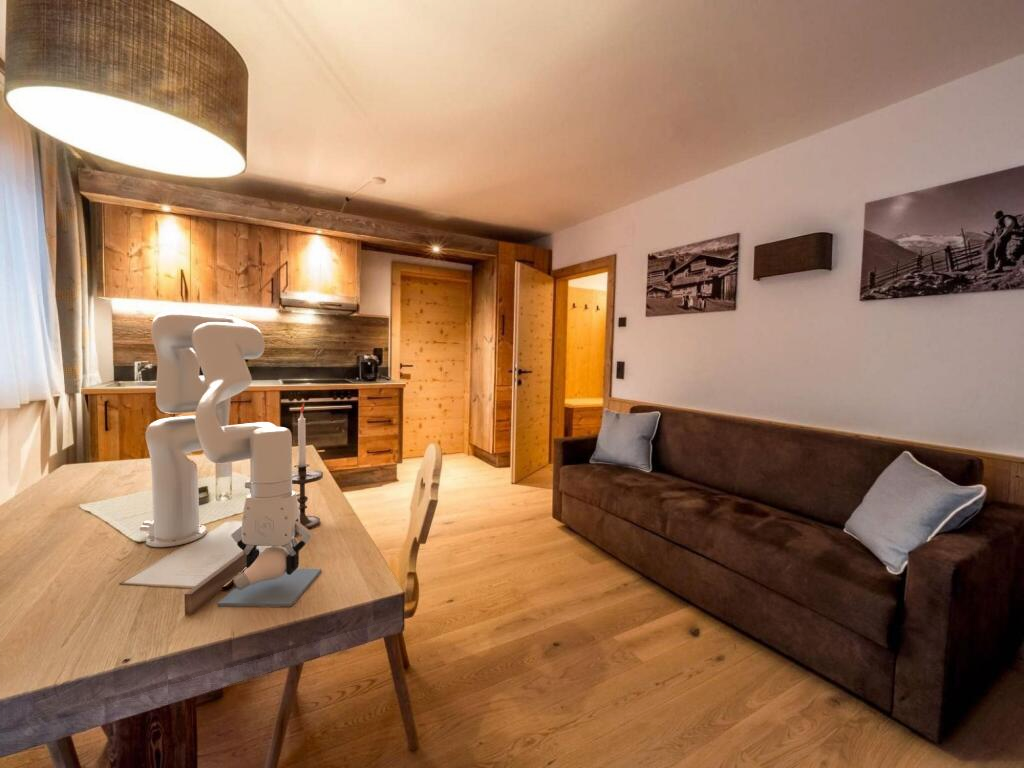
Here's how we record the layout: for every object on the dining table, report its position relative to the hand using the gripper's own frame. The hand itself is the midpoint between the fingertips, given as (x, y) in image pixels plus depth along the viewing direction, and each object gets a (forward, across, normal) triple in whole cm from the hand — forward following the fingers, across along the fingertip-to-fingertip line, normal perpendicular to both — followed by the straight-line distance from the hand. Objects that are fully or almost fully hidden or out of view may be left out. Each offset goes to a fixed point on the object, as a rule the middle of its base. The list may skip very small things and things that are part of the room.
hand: (272, 570), depth 92 cm
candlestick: (+4, -9, +34) cm, 35 cm away
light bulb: (+2, -1, -2) cm, 3 cm away
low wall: (+4, -10, -1) cm, 11 cm away
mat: (+4, 0, 0) cm, 4 cm away
